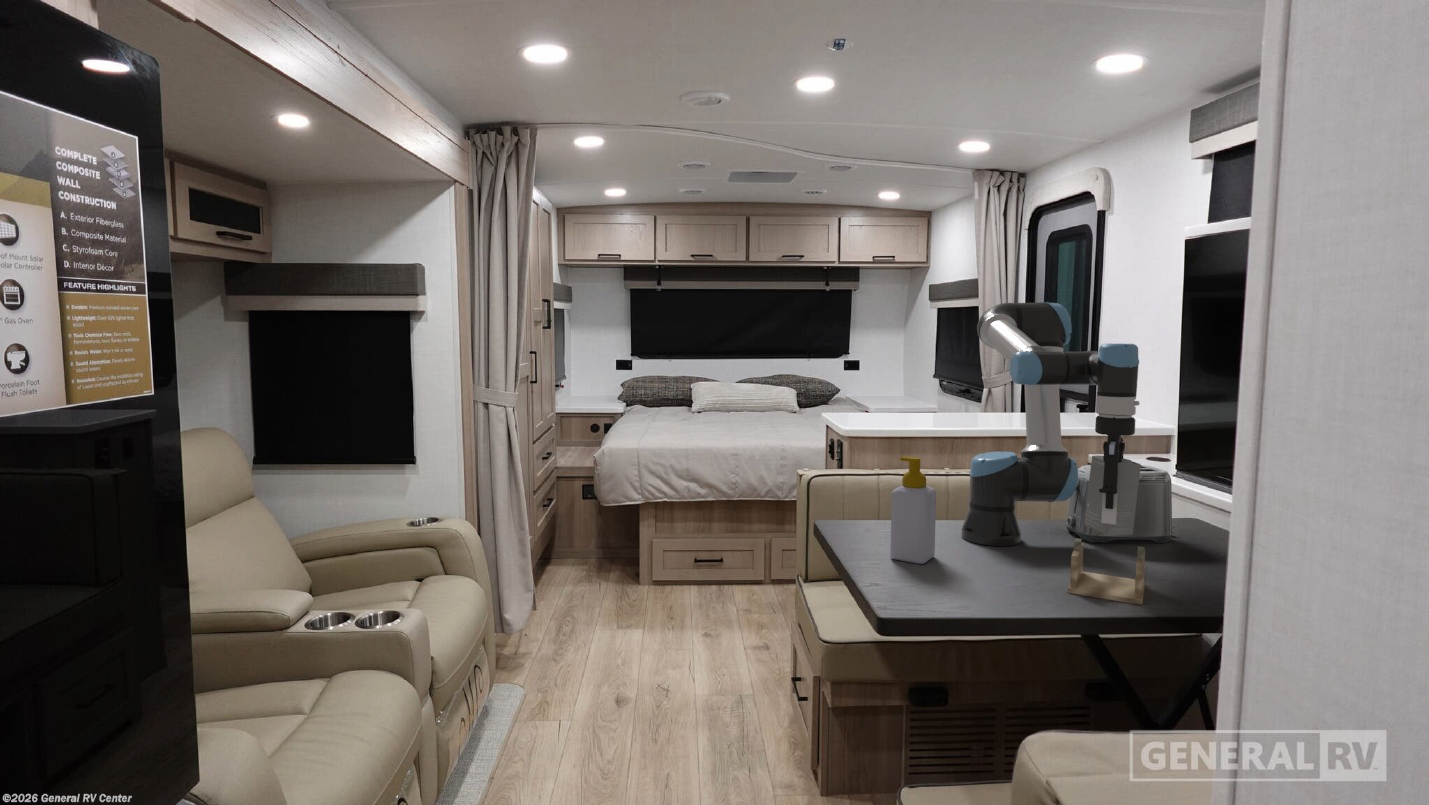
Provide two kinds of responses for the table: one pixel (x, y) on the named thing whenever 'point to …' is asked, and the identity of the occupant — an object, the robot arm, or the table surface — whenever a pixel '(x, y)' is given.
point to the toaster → (1149, 512)
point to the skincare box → (1125, 497)
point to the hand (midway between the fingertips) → (1110, 518)
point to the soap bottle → (913, 517)
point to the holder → (1106, 580)
